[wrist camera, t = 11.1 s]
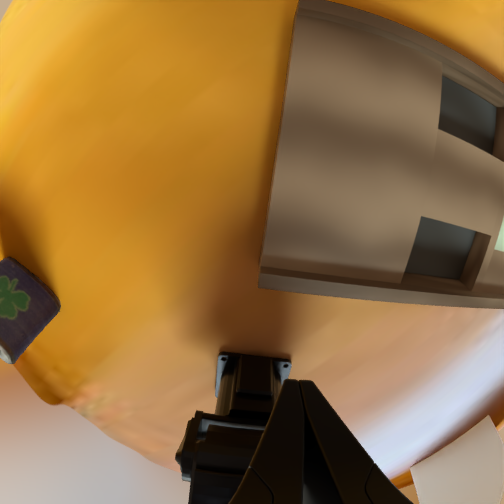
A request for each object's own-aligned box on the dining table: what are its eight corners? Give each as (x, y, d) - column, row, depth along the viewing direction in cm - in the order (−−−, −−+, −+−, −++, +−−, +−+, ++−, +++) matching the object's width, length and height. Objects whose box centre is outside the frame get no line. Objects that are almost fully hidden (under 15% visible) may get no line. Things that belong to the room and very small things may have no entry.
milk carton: (429, 472, 40) (449, 547, 17) (409, 467, 37) (431, 559, 14) (495, 427, 35) (526, 501, 11) (488, 414, 31) (528, 505, 8)
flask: (5, 267, 22) (-56, 316, 12) (7, 247, 21) (-61, 294, 11) (60, 316, 24) (3, 383, 14) (64, 298, 23) (0, 367, 13)
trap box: (507, 293, 21) (524, 309, 18) (258, 263, 20) (257, 287, 17) (544, 138, 14) (566, 142, 11) (294, 17, 14) (300, -5, 10)
